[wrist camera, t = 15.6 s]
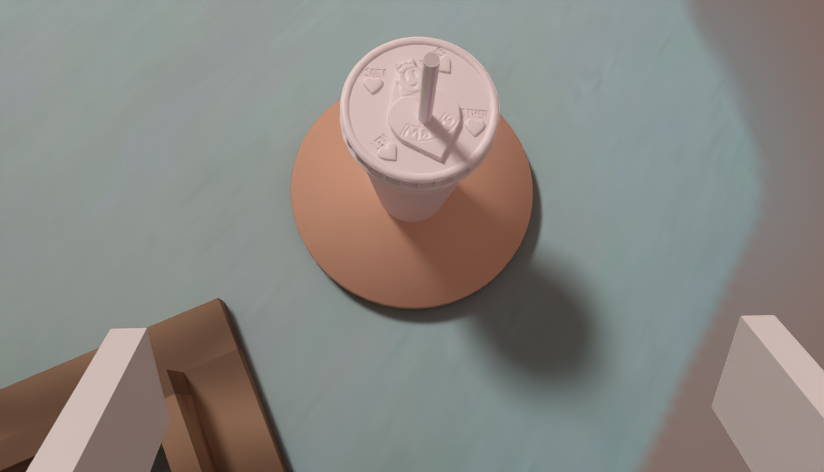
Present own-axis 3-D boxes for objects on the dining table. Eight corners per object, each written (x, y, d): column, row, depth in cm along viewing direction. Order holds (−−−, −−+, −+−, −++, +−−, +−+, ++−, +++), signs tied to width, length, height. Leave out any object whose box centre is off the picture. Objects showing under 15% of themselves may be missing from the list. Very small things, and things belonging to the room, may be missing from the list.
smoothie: (373, 262, 33) (361, 160, 20) (337, 153, 35) (303, -12, 21) (488, 225, 34) (553, 103, 20) (448, 120, 35) (484, -60, 22)
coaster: (259, 136, 36) (255, 128, 35) (467, 55, 38) (469, 45, 37) (348, 349, 33) (347, 348, 32) (570, 251, 35) (575, 246, 34)
